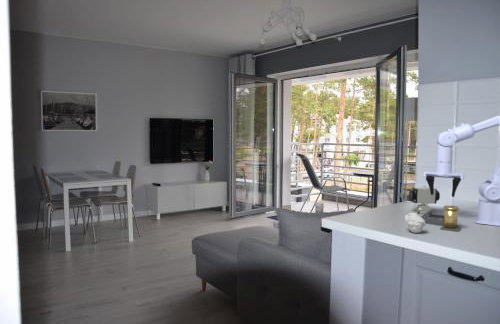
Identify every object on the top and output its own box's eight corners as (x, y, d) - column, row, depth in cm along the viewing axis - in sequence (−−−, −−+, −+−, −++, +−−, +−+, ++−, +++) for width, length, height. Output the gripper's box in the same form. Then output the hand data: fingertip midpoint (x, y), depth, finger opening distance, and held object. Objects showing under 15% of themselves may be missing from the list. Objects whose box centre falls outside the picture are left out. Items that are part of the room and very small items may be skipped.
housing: (426, 216, 164) (427, 210, 163) (453, 219, 158) (453, 213, 158) (419, 222, 152) (419, 216, 152) (447, 226, 147) (448, 220, 146)
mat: (461, 228, 144) (461, 227, 143) (458, 231, 139) (458, 230, 139) (443, 226, 147) (443, 225, 147) (440, 229, 142) (440, 228, 142)
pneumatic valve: (439, 214, 168) (440, 186, 167) (411, 214, 168) (413, 186, 168) (433, 211, 174) (434, 185, 173) (406, 211, 174) (408, 184, 173)
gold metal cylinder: (458, 226, 144) (459, 206, 143) (457, 229, 140) (458, 209, 139) (443, 224, 147) (444, 205, 146) (441, 227, 143) (442, 207, 142)
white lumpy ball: (409, 229, 142) (409, 210, 141) (428, 233, 137) (429, 213, 136) (400, 232, 138) (401, 212, 137) (420, 236, 133) (421, 215, 132)
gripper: (422, 161, 157) (421, 194, 158) (463, 163, 148) (461, 198, 150) (426, 160, 163) (424, 192, 164) (465, 162, 154) (463, 196, 155)
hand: (442, 195), depth 157 cm, fingers open, 7 cm apart
